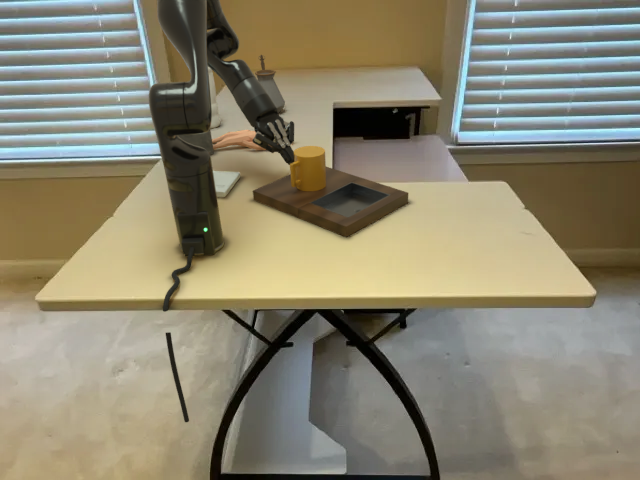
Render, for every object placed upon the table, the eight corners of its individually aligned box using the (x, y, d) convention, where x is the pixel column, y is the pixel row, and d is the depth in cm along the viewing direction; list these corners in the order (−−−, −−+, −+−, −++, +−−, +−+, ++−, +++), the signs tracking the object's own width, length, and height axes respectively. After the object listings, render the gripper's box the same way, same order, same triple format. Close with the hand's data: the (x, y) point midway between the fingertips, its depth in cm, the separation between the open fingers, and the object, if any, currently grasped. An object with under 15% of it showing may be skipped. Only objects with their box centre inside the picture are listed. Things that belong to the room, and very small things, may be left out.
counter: (253, 200, 145) (252, 190, 144) (315, 172, 158) (315, 163, 156) (346, 237, 128) (346, 226, 127) (408, 202, 141) (408, 192, 139)
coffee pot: (287, 116, 197) (283, 67, 188) (252, 119, 196) (247, 70, 187) (281, 98, 214) (278, 53, 205) (249, 100, 213) (244, 55, 204)
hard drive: (240, 177, 157) (225, 197, 147) (211, 176, 158) (194, 196, 148) (240, 171, 156) (224, 191, 146) (210, 170, 157) (193, 189, 147)
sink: (309, 212, 138) (308, 202, 137) (351, 191, 147) (351, 181, 146) (348, 227, 132) (348, 217, 130) (390, 204, 140) (390, 194, 139)
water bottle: (194, 126, 192) (180, 41, 177) (212, 120, 196) (199, 37, 181) (206, 131, 188) (193, 44, 173) (225, 125, 192) (213, 40, 177)
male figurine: (210, 129, 178) (293, 119, 177) (214, 145, 181) (296, 135, 180) (205, 142, 170) (292, 131, 168) (209, 159, 173) (294, 148, 171)
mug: (310, 176, 149) (308, 143, 144) (332, 184, 145) (331, 150, 140) (282, 189, 144) (279, 155, 138) (304, 197, 139) (302, 162, 134)
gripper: (239, 99, 138) (280, 162, 139) (280, 86, 146) (319, 146, 146) (227, 118, 144) (267, 178, 145) (268, 105, 152) (305, 162, 152)
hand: (293, 162), depth 146 cm, fingers closed
